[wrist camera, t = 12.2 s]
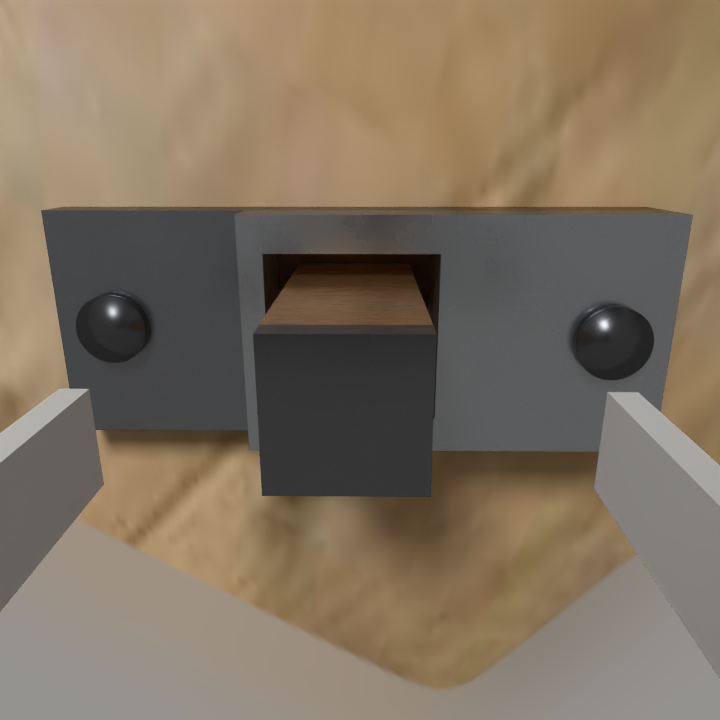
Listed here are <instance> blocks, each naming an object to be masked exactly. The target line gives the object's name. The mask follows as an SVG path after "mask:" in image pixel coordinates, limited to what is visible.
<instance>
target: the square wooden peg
mask: <svg viewBox="0 0 720 720" xmlns="http://www.w3.org/2000/svg"><path fill="white" fill-rule="evenodd" d="M436 343H437V333H436V331H435V328H434V326H433V323H432V321H431V318H430V316H429V313H428V311H427V308H426V306H425V303H424V301H423V298H422V296H421V293H420V291H419V288H418V286H417V283H416V281H415V278H414V276H413V273H412V270H411V268H410V265H409V263H300V264H299V265H298V267H297V268H296V270H295V271H294V273H293V274H292V276H291V277H290V279H289V280H288V282H287V283H286V285H285V286H284V288H283V289H282V291H281V292H280V294H279V295H278V297H277V298H276V300H275V301H274V303H273V304H272V306H271V307H270V309H269V310H268V312H267V313H266V315H265V316H264V318H263V319H262V321H261V322H260V324H259V325H258V327H257V328H256V330H255V331H254V333H253V345H254V362H255V380H256V397H257V414H258V431H259V449H260V466H261V483H262V496H396V497H430V493H431V468H432V443H433V418H434V393H435V368H436Z"/></svg>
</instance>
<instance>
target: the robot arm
mask: <svg viewBox="0 0 720 720" xmlns="http://www.w3.org/2000/svg"><path fill="white" fill-rule="evenodd" d="M103 485H104V482H103V475H102V469H101V463H100V456H99V450H98V443H97V437H96V430H95V424H94V417H93V411H92V404H91V398H90V392H89V389H58V390H57V391H56V392H54V393H53V394H52V395H50V396H49V397H48V398H46V399H45V400H44V401H42V402H41V403H40V404H38V405H37V406H36V407H34V408H33V409H32V410H30V411H29V412H28V413H26V414H25V415H24V416H22V417H21V418H20V419H18V420H17V421H16V422H14V423H13V424H12V425H10V426H9V427H8V428H6V429H5V430H4V431H2V432H1V433H0V611H1V610H2V609H3V608H4V606H5V605H6V604H7V603H8V602H9V600H10V599H11V598H12V597H13V595H14V594H15V593H16V592H17V591H18V589H19V588H20V587H21V585H22V584H23V583H24V582H25V581H26V579H27V578H28V577H29V576H30V575H31V573H32V572H33V571H34V570H35V568H36V567H37V566H38V565H39V563H40V562H41V561H42V560H43V558H44V557H45V556H46V555H47V554H48V552H49V551H50V550H51V549H52V547H53V546H54V545H55V544H56V542H57V541H58V540H59V539H60V537H61V536H62V535H63V534H64V533H65V531H66V530H67V529H68V528H69V526H70V525H71V524H72V523H73V522H74V520H75V519H76V518H77V517H78V515H79V514H80V513H81V512H82V510H83V509H84V508H85V507H86V505H87V504H88V503H89V502H90V501H91V499H92V498H93V497H94V496H95V494H96V493H97V492H98V491H99V489H100V488H101V487H102V486H103ZM594 489H595V491H596V492H597V494H598V495H599V497H600V498H601V500H602V502H603V503H604V505H605V506H606V508H607V509H608V511H609V512H610V514H611V515H612V517H613V518H614V520H615V521H616V523H617V524H618V526H619V527H620V529H621V530H622V532H623V533H624V535H625V536H626V538H627V539H628V541H629V542H630V544H631V545H632V547H633V548H634V550H635V551H636V553H637V554H638V556H639V557H640V559H641V560H642V562H643V563H644V565H645V566H646V568H647V569H648V571H649V572H650V574H651V575H652V577H653V579H654V580H655V582H656V583H657V585H658V586H659V588H660V589H661V591H662V592H663V594H664V595H665V597H666V598H667V600H668V601H669V603H670V604H671V606H672V607H673V609H674V610H675V611H676V613H677V615H678V616H679V618H680V619H681V621H682V622H683V624H684V625H685V627H686V628H687V630H688V631H689V633H690V634H691V636H692V637H693V639H694V640H695V642H696V643H697V645H698V647H699V648H700V650H701V651H702V653H703V654H704V656H705V657H706V659H707V660H708V662H709V663H710V665H711V666H712V668H713V669H714V671H715V672H716V674H717V675H718V677H719V678H720V465H719V464H718V463H716V462H715V461H714V460H713V459H712V458H711V457H710V456H709V455H708V454H706V453H705V452H704V451H703V450H702V449H701V448H700V447H699V446H697V445H696V444H695V443H694V442H693V441H692V440H691V439H690V438H689V437H687V436H686V435H685V434H684V433H683V432H682V431H681V430H680V429H679V428H677V427H676V426H675V425H674V424H673V423H672V422H671V421H670V420H669V419H667V418H666V417H665V416H664V415H663V414H662V413H661V412H660V411H658V410H657V409H656V408H655V407H654V406H653V405H652V404H651V403H650V402H648V401H647V400H646V399H645V398H644V397H643V396H642V395H641V394H640V393H638V392H607V399H606V406H605V413H604V420H603V427H602V435H601V442H600V449H599V456H598V463H597V470H596V477H595V485H594Z"/></svg>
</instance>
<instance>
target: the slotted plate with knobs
mask: <svg viewBox="0 0 720 720" xmlns="http://www.w3.org/2000/svg"><path fill="white" fill-rule="evenodd" d="M41 212H42V218H43V225H44V231H45V237H46V243H47V250H48V256H49V262H50V268H51V275H52V281H53V287H54V293H55V300H56V306H57V312H58V318H59V325H60V331H61V337H62V343H63V350H64V356H65V362H66V368H67V374H68V381H69V387H70V389H89V392H90V398H91V404H92V411H93V417H94V424H95V430H248V437H249V450H260V449H259V431H258V414H257V397H256V380H255V362H254V345H253V333H254V331H255V330H256V328H257V327H258V325H259V324H260V322H261V321H262V319H263V318H264V316H265V315H266V313H267V312H268V310H269V309H270V307H271V306H272V304H273V303H274V301H275V300H276V298H277V297H278V295H279V278H278V255H277V254H431V261H430V290H429V316H430V318H431V321H432V323H433V326H434V328H435V331H436V333H437V343H436V368H435V393H434V418H433V443H432V451H549V452H599V449H600V442H601V435H602V427H603V420H604V413H605V406H606V399H607V392H638V393H640V394H641V395H642V396H643V397H644V398H645V399H646V400H647V401H648V402H650V403H651V404H652V405H653V406H654V407H655V408H656V409H657V410H658V411H660V410H661V404H662V398H663V392H664V386H665V380H666V374H667V368H668V362H669V356H670V350H671V344H672V338H673V332H674V326H675V320H676V314H677V308H678V302H679V296H680V290H681V284H682V278H683V272H684V266H685V260H686V254H687V248H688V242H689V236H690V230H691V224H692V218H693V215H691V214H685V213H679V212H673V211H667V210H661V209H655V208H649V207H61V208H54V209H48V210H41Z"/></svg>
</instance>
